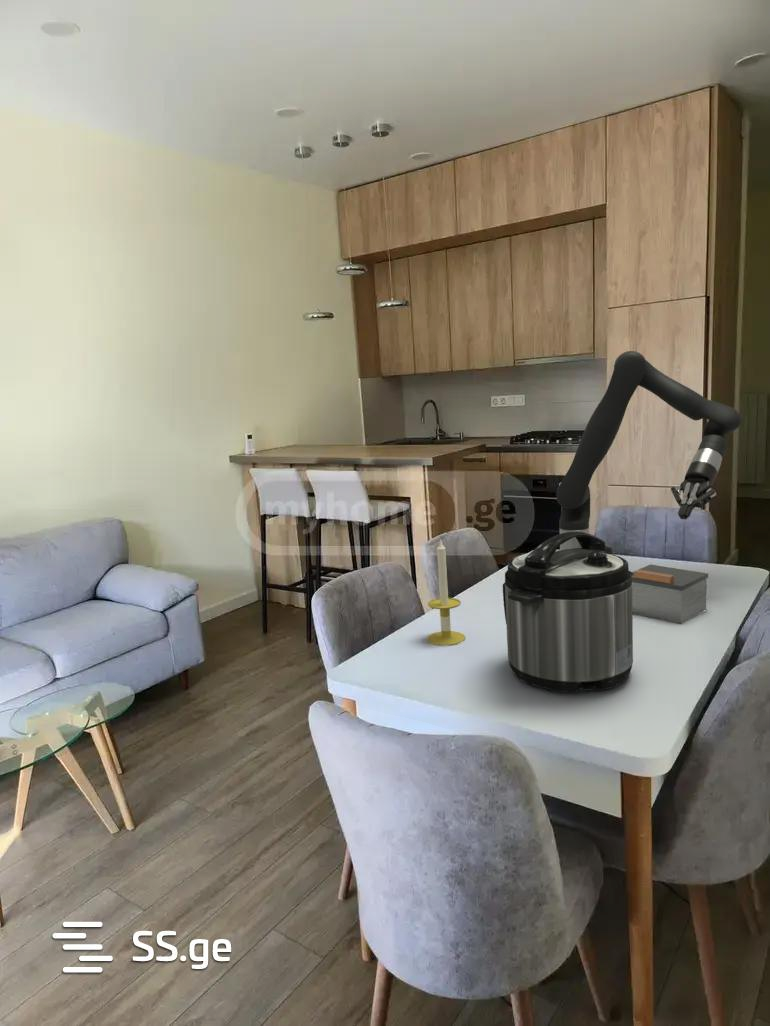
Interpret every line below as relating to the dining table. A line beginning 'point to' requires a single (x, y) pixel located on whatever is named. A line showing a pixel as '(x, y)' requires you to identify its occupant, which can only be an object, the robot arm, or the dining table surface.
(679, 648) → the dining table surface
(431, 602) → the candle
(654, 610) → the grey metal box
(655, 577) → the lid
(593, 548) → the pressure cooker
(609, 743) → the dining table surface
